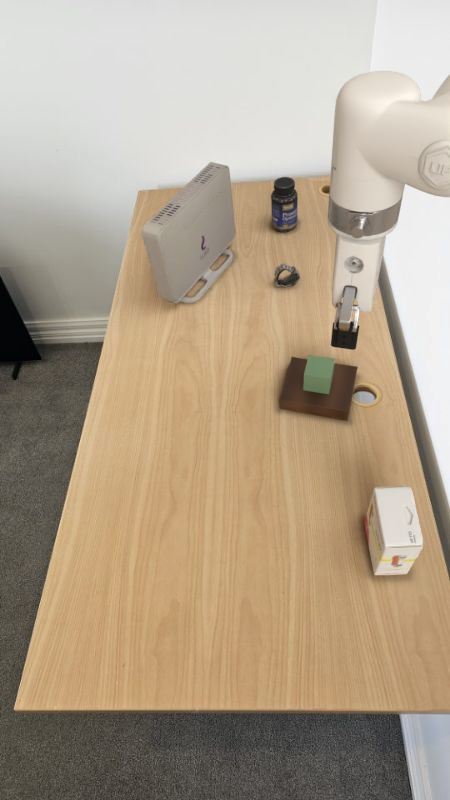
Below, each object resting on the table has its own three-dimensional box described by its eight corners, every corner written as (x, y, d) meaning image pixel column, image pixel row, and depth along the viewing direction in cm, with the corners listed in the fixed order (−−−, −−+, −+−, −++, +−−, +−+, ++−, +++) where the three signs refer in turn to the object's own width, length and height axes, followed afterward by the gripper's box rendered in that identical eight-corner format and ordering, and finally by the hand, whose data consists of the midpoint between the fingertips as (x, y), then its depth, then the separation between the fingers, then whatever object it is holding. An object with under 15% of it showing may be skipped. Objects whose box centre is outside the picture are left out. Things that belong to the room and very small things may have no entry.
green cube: (333, 374, 89) (335, 358, 85) (328, 394, 87) (330, 378, 83) (308, 370, 90) (308, 354, 87) (303, 390, 88) (303, 374, 84)
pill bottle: (284, 236, 118) (284, 193, 109) (266, 226, 121) (264, 183, 112) (302, 223, 120) (303, 181, 111) (284, 214, 123) (283, 171, 114)
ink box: (362, 519, 76) (372, 484, 67) (395, 517, 76) (410, 482, 66) (372, 576, 71) (384, 547, 62) (408, 575, 71) (426, 546, 61)
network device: (184, 316, 106) (166, 236, 90) (152, 303, 109) (128, 225, 93) (245, 246, 118) (238, 164, 102) (214, 236, 121) (202, 156, 105)
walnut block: (355, 376, 92) (357, 366, 90) (347, 421, 87) (349, 411, 84) (291, 366, 95) (291, 356, 93) (279, 409, 90) (279, 399, 87)
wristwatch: (287, 292, 109) (303, 276, 106) (269, 281, 107) (284, 264, 104) (285, 284, 111) (300, 268, 108) (267, 273, 109) (282, 256, 106)
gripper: (391, 263, 48) (369, 373, 62) (407, 165, 57) (384, 280, 71) (313, 255, 50) (309, 364, 64) (341, 162, 59) (331, 275, 73)
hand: (349, 320), depth 68 cm, fingers open, 9 cm apart
